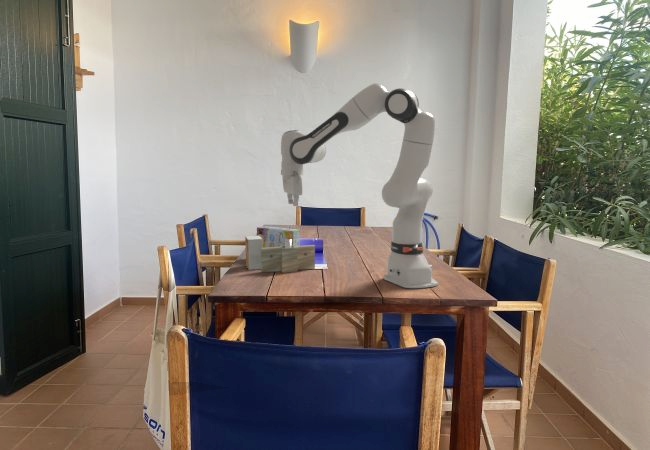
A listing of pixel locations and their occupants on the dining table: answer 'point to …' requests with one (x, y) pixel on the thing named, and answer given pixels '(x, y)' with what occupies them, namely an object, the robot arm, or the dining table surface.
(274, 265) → the hinge
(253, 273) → the dining table surface
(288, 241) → the hinge pin
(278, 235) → the snack box
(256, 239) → the small box
